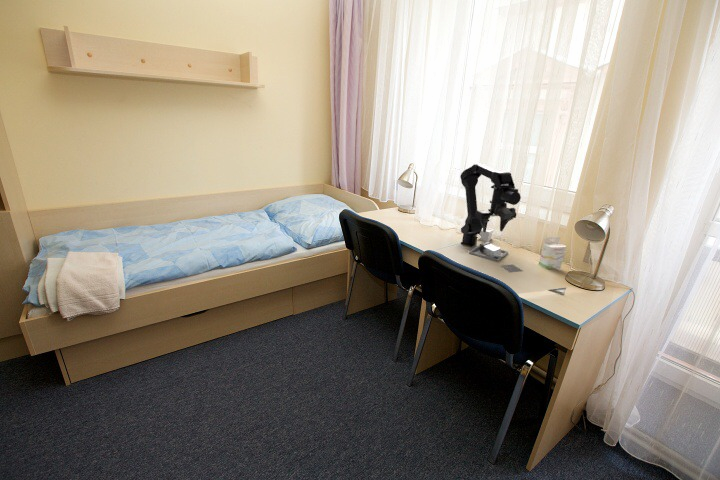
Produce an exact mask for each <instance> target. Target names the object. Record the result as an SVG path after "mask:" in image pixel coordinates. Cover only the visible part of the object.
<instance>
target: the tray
mask: <svg viewBox="0 0 720 480" xmlns="http://www.w3.org/2000/svg"><path fill="white" fill-rule="evenodd" d="M502 253H503V254H502ZM468 254H470V255H473V256H477V257H481V258H484V259H487V260H490V261H494V262H497V263H498V262H500V261H501V260H502V259H503V258H505V256H507V255H508V254H509V251H508V250H503V249H501V257H498V258H492V257H490V256H488V255H486V254H483V253H482V254H481V252H480V244H478V245H476V246H474V248H472V249H471V250H470V251H469V252H468Z"/></svg>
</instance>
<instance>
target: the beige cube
mask: <svg viewBox="0 0 720 480" xmlns="http://www.w3.org/2000/svg"><path fill="white" fill-rule="evenodd" d="M491 229H492V228H491ZM493 232H494V229H492V230H486V232H483V230H481V232H480V234H479V235H480V236H481V238H480V240H479V241H481V242H484V243H486V242H490V241H491V240H492V237H493Z"/></svg>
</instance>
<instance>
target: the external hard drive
mask: <svg viewBox="0 0 720 480" xmlns="http://www.w3.org/2000/svg"><path fill="white" fill-rule="evenodd" d="M566 290H567V287H560V288H552V289H551V288H550V289H547V291H548V292H552V293H555V294H559V295H561V296H563V295H564V293H565V291H566Z"/></svg>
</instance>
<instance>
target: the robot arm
mask: <svg viewBox="0 0 720 480" xmlns="http://www.w3.org/2000/svg"><path fill="white" fill-rule="evenodd" d="M481 176H484V177H486V178H487V179H489V180H490V181H491V183H492V184H493V185H491V187H490V188H491V189H493V192H492V197H491V200H489V203H490V208H488V210H487V211H486V210H483V209H482V210H478V204H477V203H478V202H477V191H476V186H477V184H478V182H479V178H480V177H481ZM460 182H461V184H462V186H463V187H464V190H465V198H466V210H467V216H466V218H465V220H464V225H463V226H462V227H460V232H461V234H463V235H462V241H461V242H460V244H461V245H463V246H467V247H471V248H473V247H475V246H477V242H478V240H477V238H478V237H477V236H478V234H480V232H481V230H482V228H483V232H486V229H487V228H488V223H489V222H490V218H491V217H499V220H500V221H499V231H500V232H503V230H504V228H505V227H506V225H507V224H508V223H509V222H510V221H512V220H514V219H516V217H517V212H516V211H517V209H516V208H515V207H508V204H510V205H512V206H516V205H518V203H520V202H521V198H522V197H521V193H519V189H518V188H516V186H515V183H514V180H513V176H512V173H511V172H510V171H502V170H496V169H494V168H491V167H489V166H487V165H485V164H484V163H474V164H473V165H471V166H470V167H467V168H466V169H464V170H463V171H462V172H461V173H460Z"/></svg>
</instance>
